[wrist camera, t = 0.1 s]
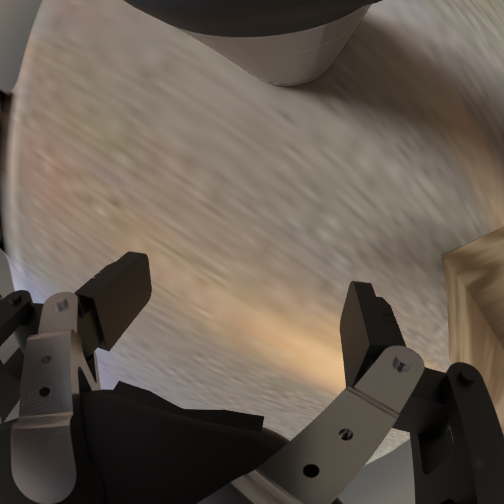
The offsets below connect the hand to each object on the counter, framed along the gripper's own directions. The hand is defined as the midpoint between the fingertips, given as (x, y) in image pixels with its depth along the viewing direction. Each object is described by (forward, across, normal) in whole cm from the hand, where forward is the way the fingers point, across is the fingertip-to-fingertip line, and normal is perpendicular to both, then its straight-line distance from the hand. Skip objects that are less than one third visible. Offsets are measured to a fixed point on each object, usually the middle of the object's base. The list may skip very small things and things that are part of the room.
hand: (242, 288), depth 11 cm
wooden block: (+18, -31, +7) cm, 36 cm away
